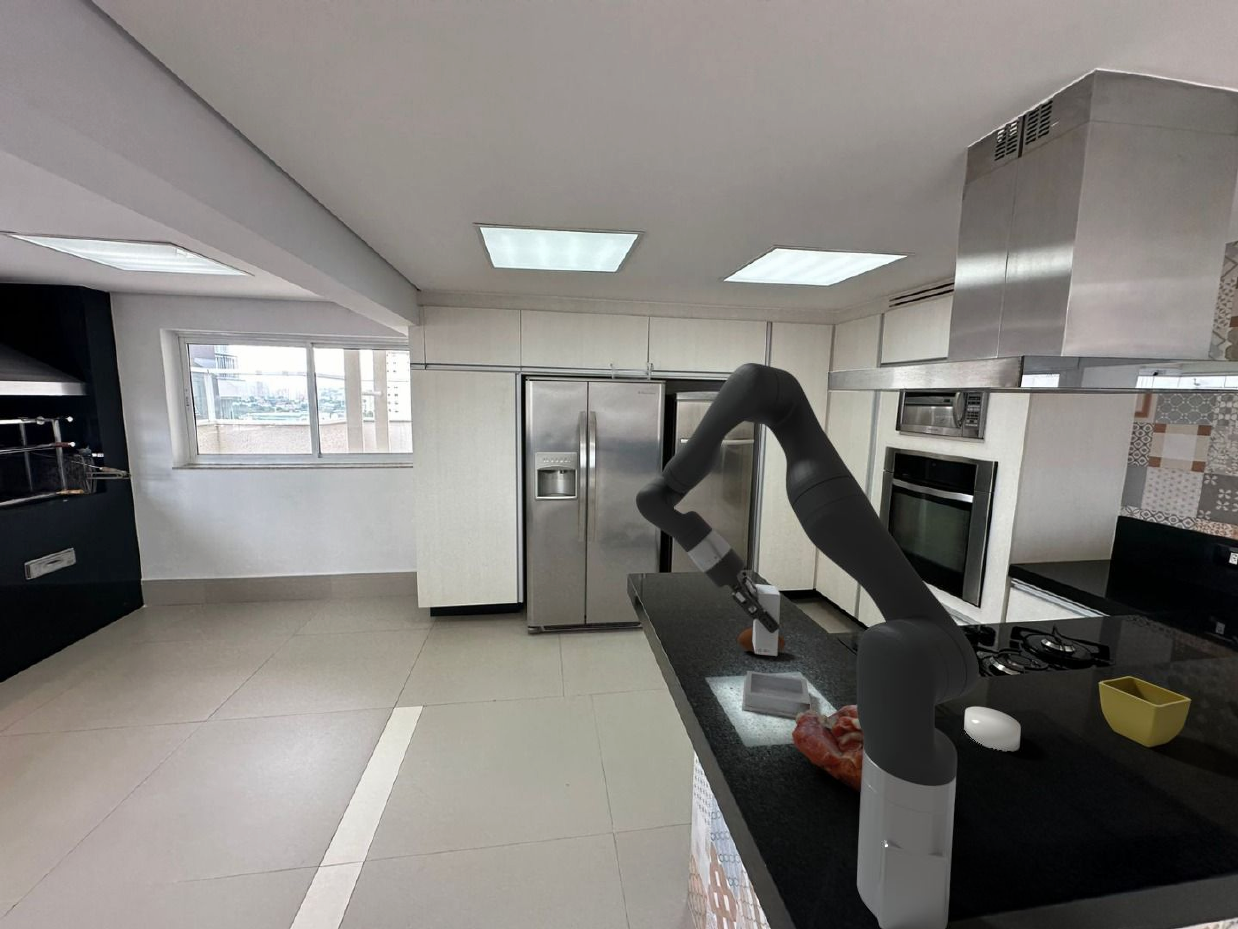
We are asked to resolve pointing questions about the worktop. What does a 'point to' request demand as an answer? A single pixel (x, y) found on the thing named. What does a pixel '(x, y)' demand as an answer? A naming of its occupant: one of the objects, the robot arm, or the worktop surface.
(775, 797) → the worktop surface
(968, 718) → the white domed puck
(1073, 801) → the worktop surface
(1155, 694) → the flower pot
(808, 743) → the meat
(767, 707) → the tray
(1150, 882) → the worktop surface
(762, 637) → the skincare box
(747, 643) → the potato
